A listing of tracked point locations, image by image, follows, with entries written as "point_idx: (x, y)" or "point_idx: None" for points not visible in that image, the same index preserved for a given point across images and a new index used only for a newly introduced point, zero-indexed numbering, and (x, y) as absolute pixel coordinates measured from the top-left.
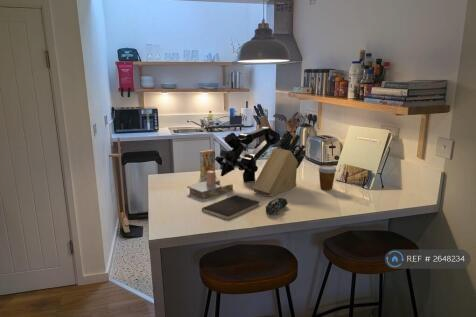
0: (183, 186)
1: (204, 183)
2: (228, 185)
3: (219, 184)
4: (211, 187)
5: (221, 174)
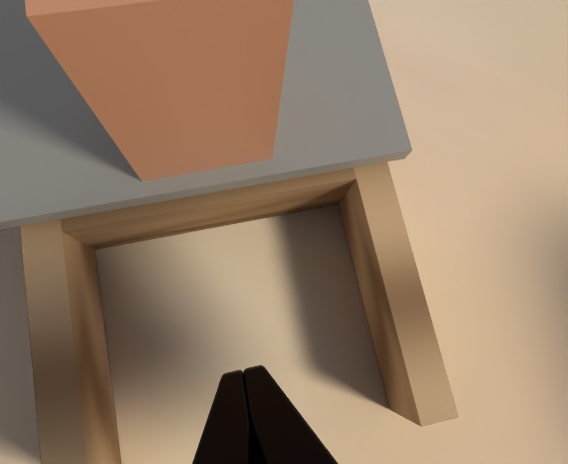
0: (561, 3)
1: (303, 65)
2: (53, 411)
3: (393, 404)
4: (45, 53)
5: (242, 384)
